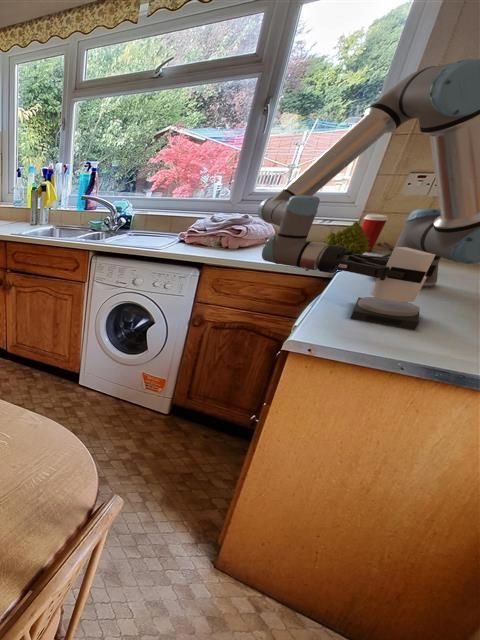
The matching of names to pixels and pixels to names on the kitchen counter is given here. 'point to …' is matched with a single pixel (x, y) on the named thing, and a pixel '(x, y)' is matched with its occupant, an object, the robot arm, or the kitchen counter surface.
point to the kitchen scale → (386, 312)
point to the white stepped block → (400, 288)
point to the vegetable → (350, 239)
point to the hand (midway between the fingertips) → (428, 274)
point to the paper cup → (373, 227)
